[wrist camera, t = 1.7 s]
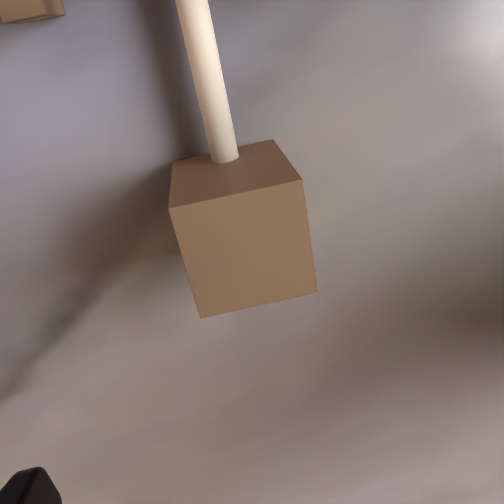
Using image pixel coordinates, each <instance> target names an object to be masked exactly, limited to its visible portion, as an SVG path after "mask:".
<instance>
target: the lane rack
mask: <svg viewBox="0 0 504 504" xmlns="http://www.w3.org/2000/svg"><path fill="white" fill-rule="evenodd" d="M61 15H66V13H65V10H64V7H63V4H62V1H61V0H0V18H1V20H2V23H7V22H32V21H37V20H42V19H47V18H52V17H57V16H61Z"/></svg>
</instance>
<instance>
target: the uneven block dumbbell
mask: <svg viewBox="0 0 504 504" xmlns="http://www.w3.org/2000/svg"><path fill="white" fill-rule="evenodd" d="M175 3H176V7H177V12H178V16H179V20H180V25H181V29H182V33H183V38H184V42H185V46H186V51H187V55H188V59H189V64H190V68H191V72H192V77H193V81H194V85H195V90H196V94H197V98H198V103H199V107H200V111H201V116H202V120H203V125H204V129H205V133H206V138H207V142H208V146H209V151H210V153H209V154H204V155H199V156H195V157H190V158H185V159H181V160H176V161H173V162H172V173H171V183H170V194H169V205H168V210H169V213H170V217H171V220H172V224H173V227H174V231H175V234H176V237H177V241H178V244H179V248H180V251H181V255H182V258H183V261H184V265H185V268H186V272H187V275H188V279H189V282H190V285H191V289H192V292H193V296H194V299H195V302H196V306H197V309H198V313H199V316H200V319H201V318H205V317H210V316H214V315H219V314H223V313H227V312H232V311H236V310H240V309H245V308H249V307H254V306H258V305H262V304H267V303H271V302H276V301H280V300H284V299H289V298H293V297H298V296H302V295H306V294H311V293H315V292H317V285H316V277H315V270H314V262H313V255H312V248H311V240H310V233H309V226H308V218H307V211H306V203H305V196H304V189H303V181H302V178H301V177H300V176H299V174H298V173H297V171H296V170H295V169H294V167H293V166H292V165H291V163H290V162H289V160H288V159H287V158H286V156H285V155H284V154H283V152H282V151H281V149H280V148H279V147H278V145H277V144H276V143H275V141H274V140H269V141H264V142H259V143H255V144H250V145H245V146H241V147H237V144H236V139H235V134H234V129H233V124H232V119H231V114H230V109H229V104H228V99H227V94H226V89H225V84H224V79H223V74H222V69H221V64H220V59H219V54H218V49H217V44H216V39H215V34H214V29H213V24H212V19H211V14H210V9H209V4H208V0H175Z"/></svg>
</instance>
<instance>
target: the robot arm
mask: <svg viewBox="0 0 504 504" xmlns="http://www.w3.org/2000/svg"><path fill="white" fill-rule="evenodd" d="M0 504H62V500H61V496H60V494H59V492H58V490H57V489H56V487H55V485H54V484H53V482H52V480H51V479H50V477H49V475H48V474H47V472H46V471H45V469H44V468H42V467H34V468H30V469H26V470H22V471H19V472H17V473H16V474H14V475H13V476H12V477H11V479H10V480H9V481H8V482H7V483H6V484H5V486H4V487H3V488H2V489H1V490H0Z"/></svg>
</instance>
